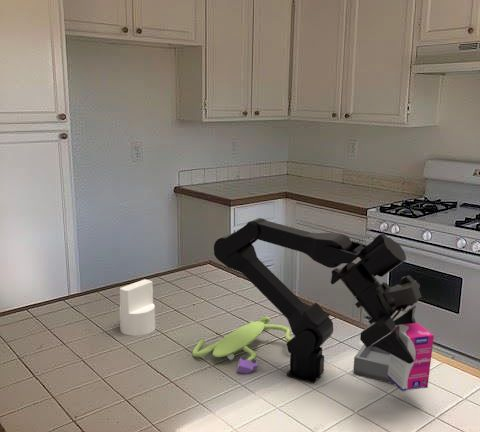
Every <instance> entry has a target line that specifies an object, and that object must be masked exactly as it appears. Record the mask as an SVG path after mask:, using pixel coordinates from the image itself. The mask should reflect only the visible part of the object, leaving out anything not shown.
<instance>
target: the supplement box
mask: <svg viewBox="0 0 480 432" xmlns="http://www.w3.org/2000/svg"><path fill="white" fill-rule="evenodd" d="M397 326H400V328H399V337H400V338H401V340H402V341H403V343H404V345H405V346H406V348H407V349H408V351H409V352H410V354H411V356H412V358H413V359H414V362H412V363H411V364H409V363H407V362H405V361H403V360H401V359H399V358H397V357H396V356H394V355H392V354H390V357H389V367H388V376H387V377H388V378H389V379H390V380H391V381H392V382H393V383H394V384H393V385H395V386H396V387H397V388H398V389H399V390H400V391H401V392H406V391H413V390H418V389H419V390H420V389H427V388H428V386H429V380H430V379H429V378H430V369H431V362H432V354H433V347H434V339H435V337H434V334H433V333H432V332H430V331H429V330H427V328H425V327H424V326H422V325H421V324H420V323H418V322H416V323H412V324H401V325H395V328H396V327H397Z"/></svg>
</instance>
